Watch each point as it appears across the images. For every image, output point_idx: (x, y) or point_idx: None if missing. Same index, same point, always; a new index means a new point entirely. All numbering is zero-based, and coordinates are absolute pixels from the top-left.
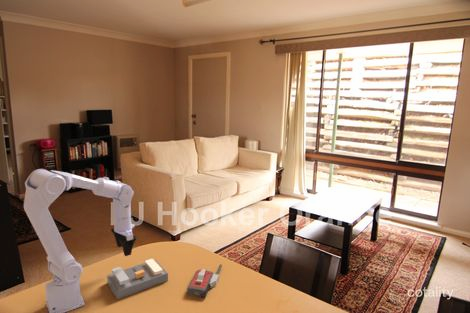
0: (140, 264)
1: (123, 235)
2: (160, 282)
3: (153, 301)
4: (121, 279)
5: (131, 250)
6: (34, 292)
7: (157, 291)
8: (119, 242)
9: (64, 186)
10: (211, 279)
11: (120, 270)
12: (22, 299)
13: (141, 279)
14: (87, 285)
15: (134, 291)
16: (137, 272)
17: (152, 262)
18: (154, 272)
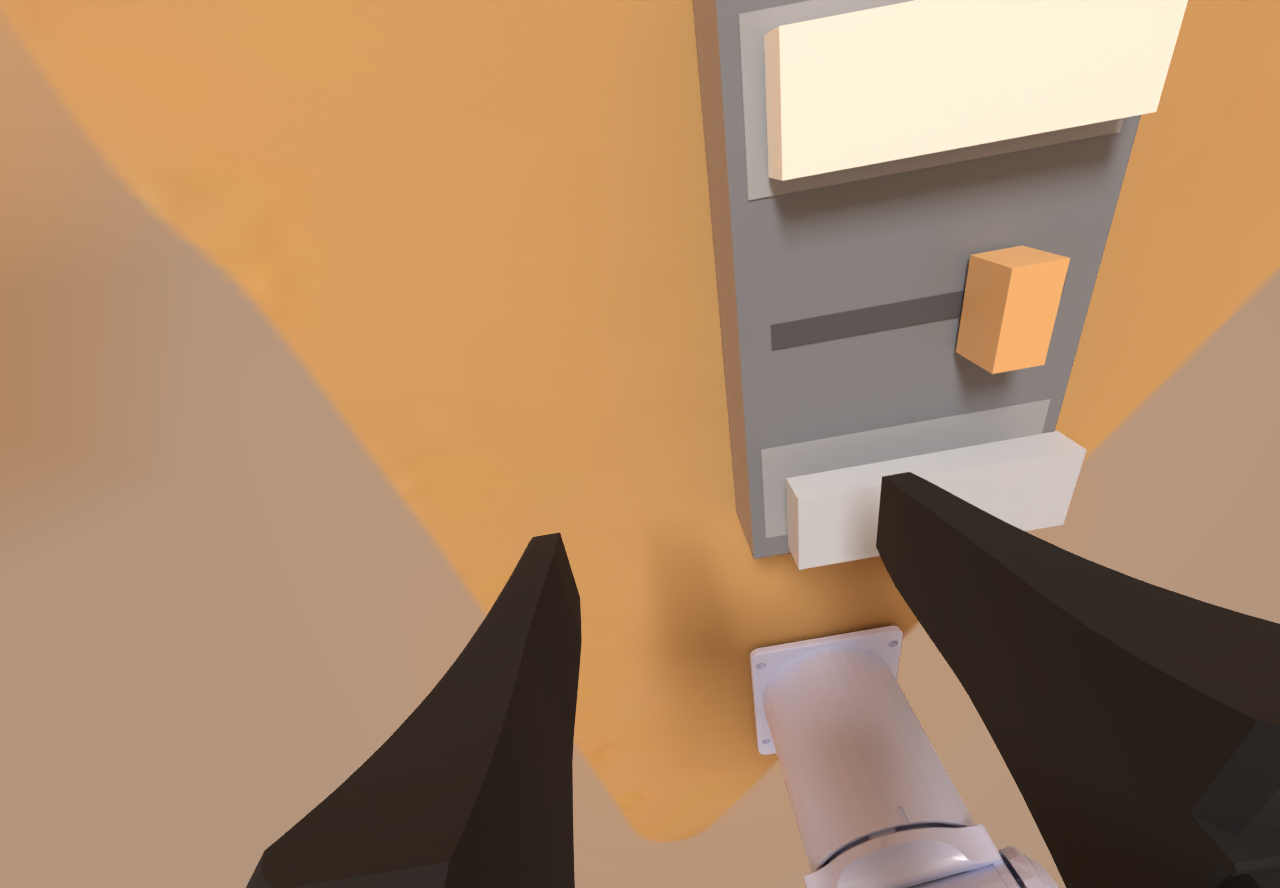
0: (732, 237)
1: (525, 705)
2: None
3: (1241, 212)
4: (1037, 511)
5: (972, 509)
6: (629, 789)
7: (1156, 129)
8: (567, 646)
9: None
10: None
11: (877, 505)
12: (664, 811)
13: None
14: (695, 613)
15: None
16: (1021, 345)
17: (895, 66)
18: (1137, 113)
